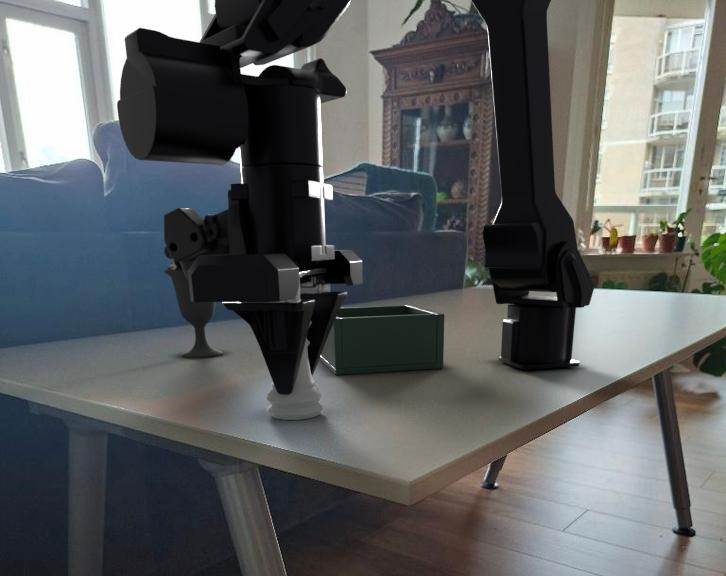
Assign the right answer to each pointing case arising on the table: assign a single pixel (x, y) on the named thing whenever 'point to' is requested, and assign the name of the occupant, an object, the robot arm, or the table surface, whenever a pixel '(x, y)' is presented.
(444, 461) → the table surface
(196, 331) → the sundae
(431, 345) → the bin
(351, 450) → the table surface
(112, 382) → the table surface
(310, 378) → the rook chess piece
